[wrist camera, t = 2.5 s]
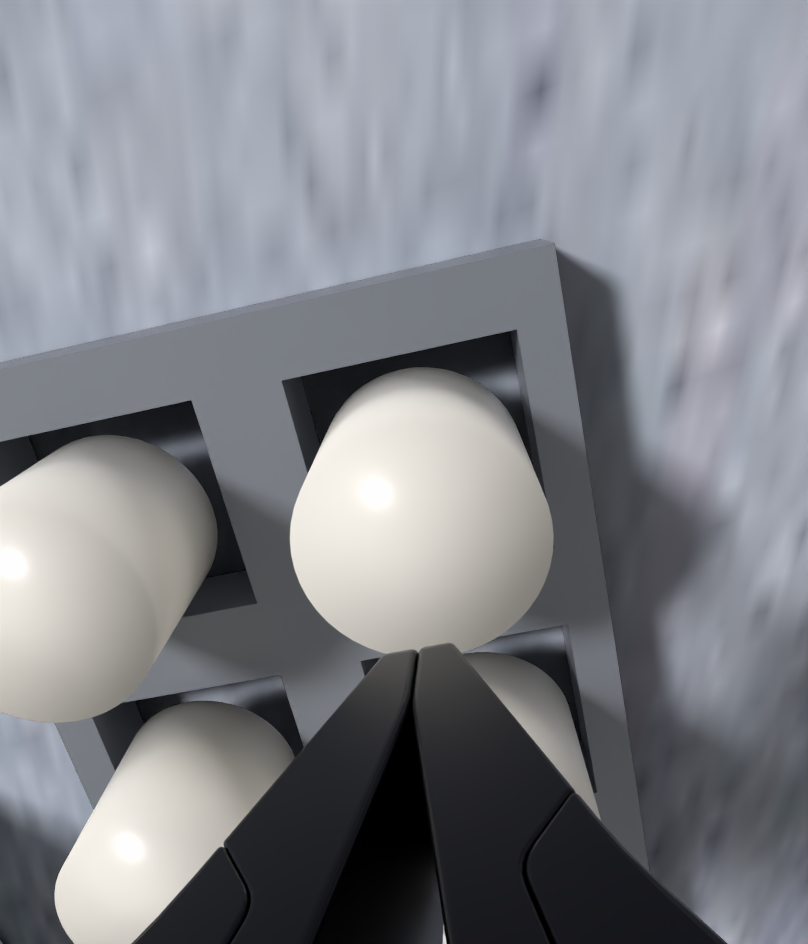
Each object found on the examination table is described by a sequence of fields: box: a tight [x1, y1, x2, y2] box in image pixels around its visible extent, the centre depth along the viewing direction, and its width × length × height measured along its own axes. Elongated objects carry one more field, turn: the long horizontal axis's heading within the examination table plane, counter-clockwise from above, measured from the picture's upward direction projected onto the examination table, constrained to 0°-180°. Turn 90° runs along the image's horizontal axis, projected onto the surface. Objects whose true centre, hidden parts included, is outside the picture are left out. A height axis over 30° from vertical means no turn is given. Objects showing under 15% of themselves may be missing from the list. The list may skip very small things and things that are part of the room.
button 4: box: [443, 652, 601, 935], centre depth 17 cm, size 4×4×4 cm
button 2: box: [54, 701, 295, 944], centre depth 17 cm, size 4×4×4 cm
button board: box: [0, 239, 650, 944], centre depth 19 cm, size 14×20×2 cm
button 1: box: [0, 435, 218, 723], centre depth 15 cm, size 4×4×4 cm
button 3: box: [290, 367, 554, 654], centre depth 14 cm, size 4×4×4 cm
